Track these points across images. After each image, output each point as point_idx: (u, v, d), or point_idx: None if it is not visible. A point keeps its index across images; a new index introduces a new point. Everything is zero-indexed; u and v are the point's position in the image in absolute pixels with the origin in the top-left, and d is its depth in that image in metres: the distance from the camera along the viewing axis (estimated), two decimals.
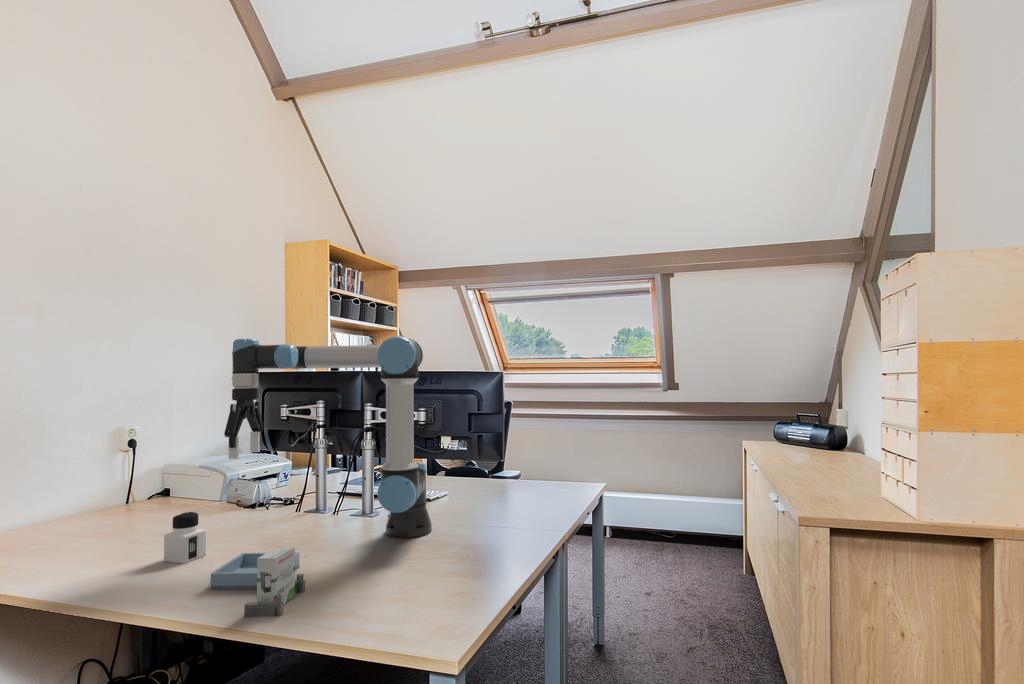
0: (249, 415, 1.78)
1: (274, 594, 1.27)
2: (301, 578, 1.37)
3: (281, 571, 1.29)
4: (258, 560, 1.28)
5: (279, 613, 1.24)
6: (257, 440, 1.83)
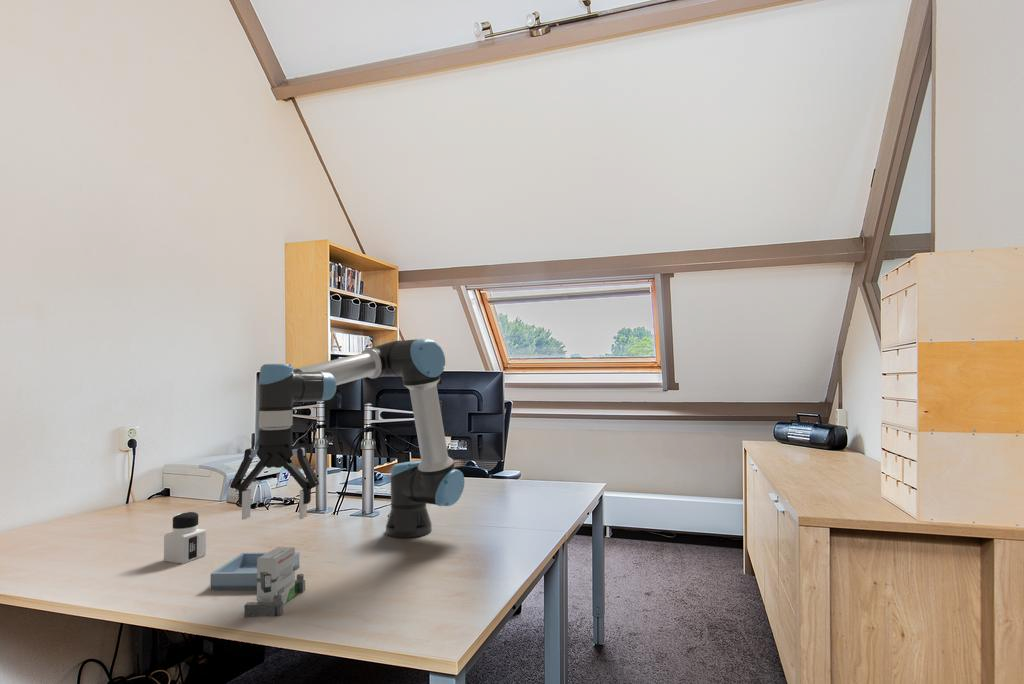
0: (276, 466, 1.33)
1: (274, 594, 1.27)
2: (301, 578, 1.37)
3: (281, 571, 1.29)
4: (258, 560, 1.28)
5: (279, 613, 1.24)
6: None
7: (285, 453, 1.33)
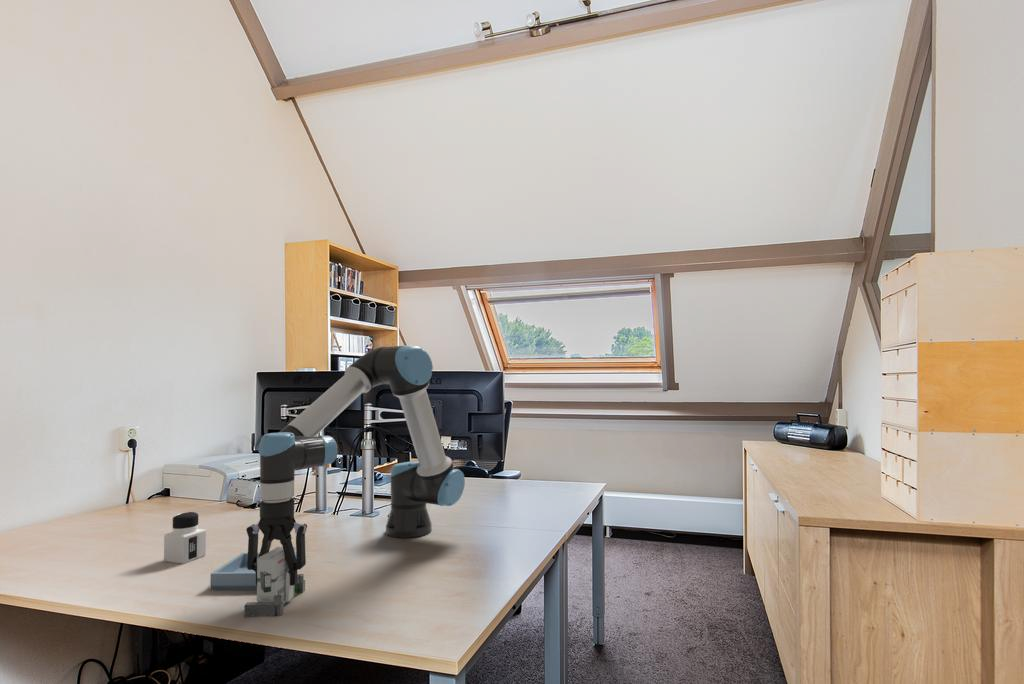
0: (278, 538, 1.31)
1: (274, 594, 1.27)
2: (301, 578, 1.37)
3: (281, 571, 1.29)
4: (258, 560, 1.28)
5: (279, 613, 1.24)
6: None
7: (287, 525, 1.31)
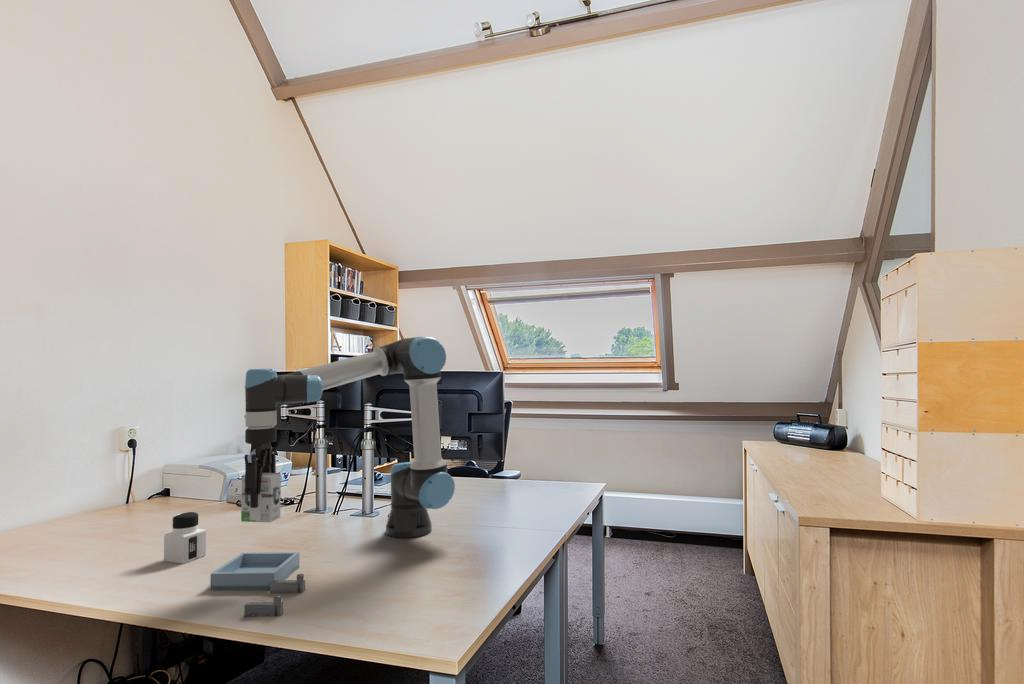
0: (266, 460, 1.48)
1: (280, 503, 1.48)
2: (301, 578, 1.37)
3: None
4: (271, 478, 1.44)
5: (279, 613, 1.24)
6: None
7: (269, 447, 1.50)
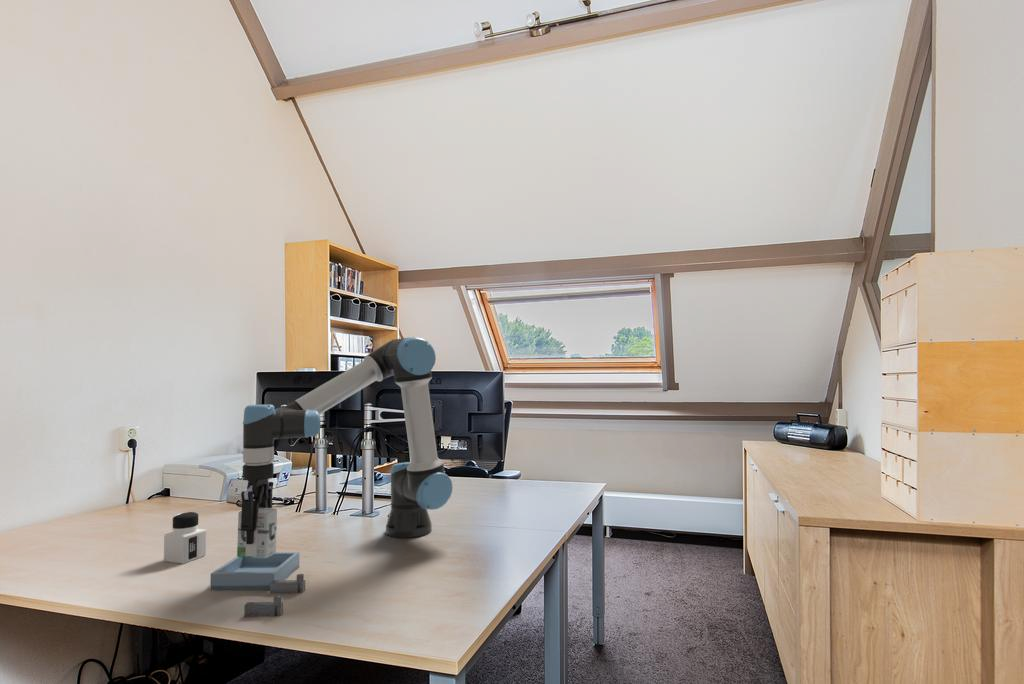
0: (263, 496, 1.49)
1: None
2: (301, 578, 1.37)
3: None
4: (267, 514, 1.45)
5: (279, 613, 1.24)
6: None
7: (266, 483, 1.51)
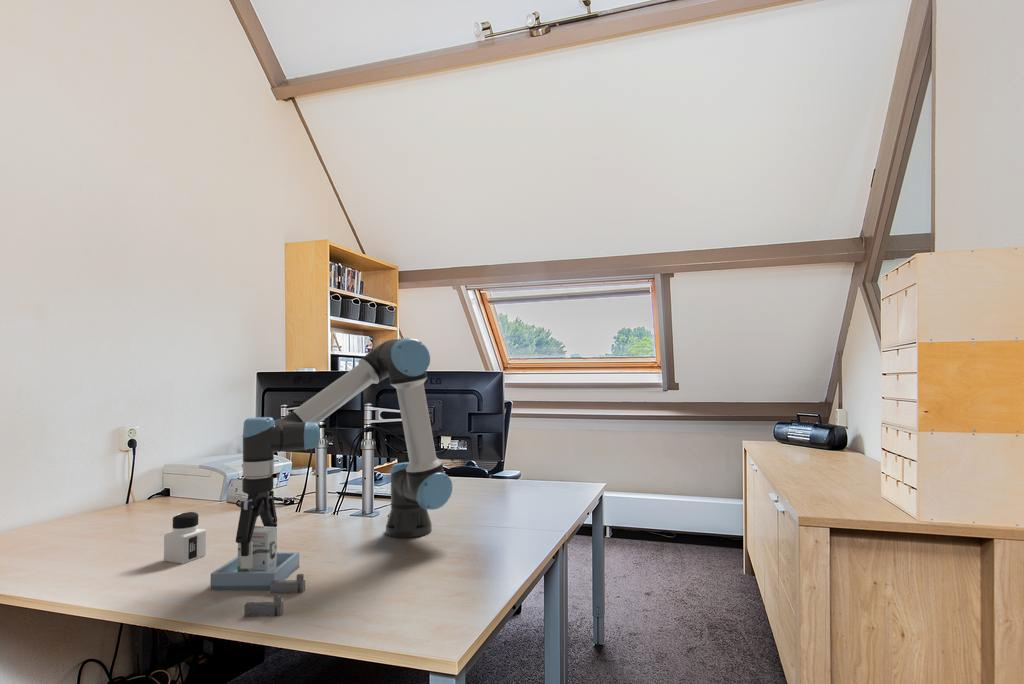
0: (263, 509, 1.49)
1: (276, 557, 1.49)
2: (301, 578, 1.37)
3: None
4: (268, 533, 1.45)
5: (279, 613, 1.24)
6: None
7: (266, 496, 1.51)
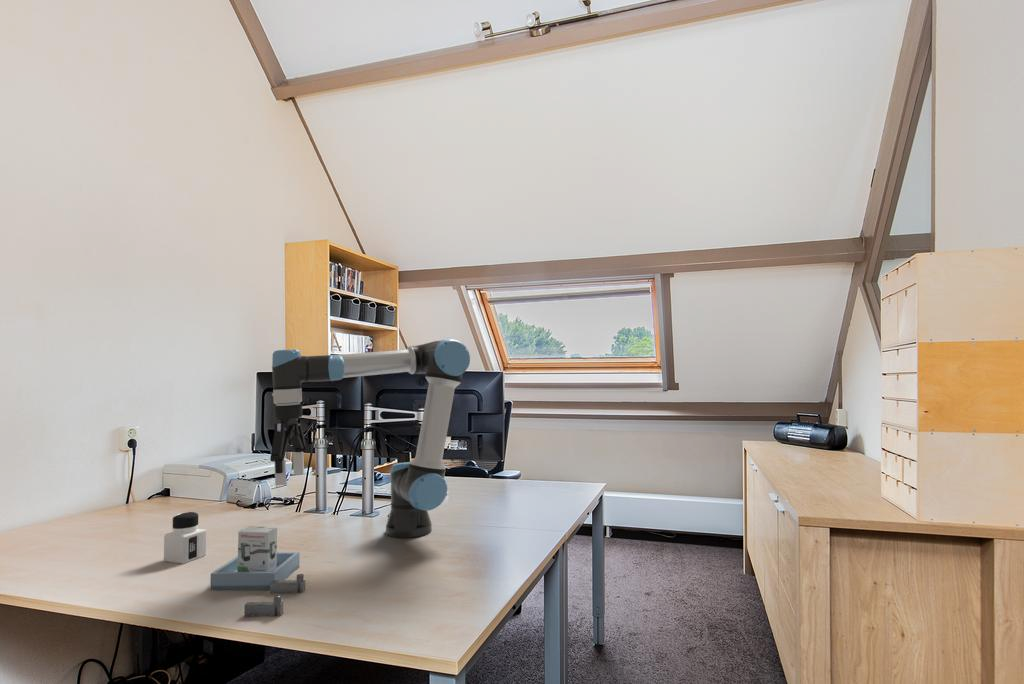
0: (293, 434, 1.59)
1: (276, 557, 1.49)
2: (301, 578, 1.37)
3: None
4: (268, 533, 1.45)
5: (279, 613, 1.24)
6: (301, 461, 1.64)
7: (296, 423, 1.61)
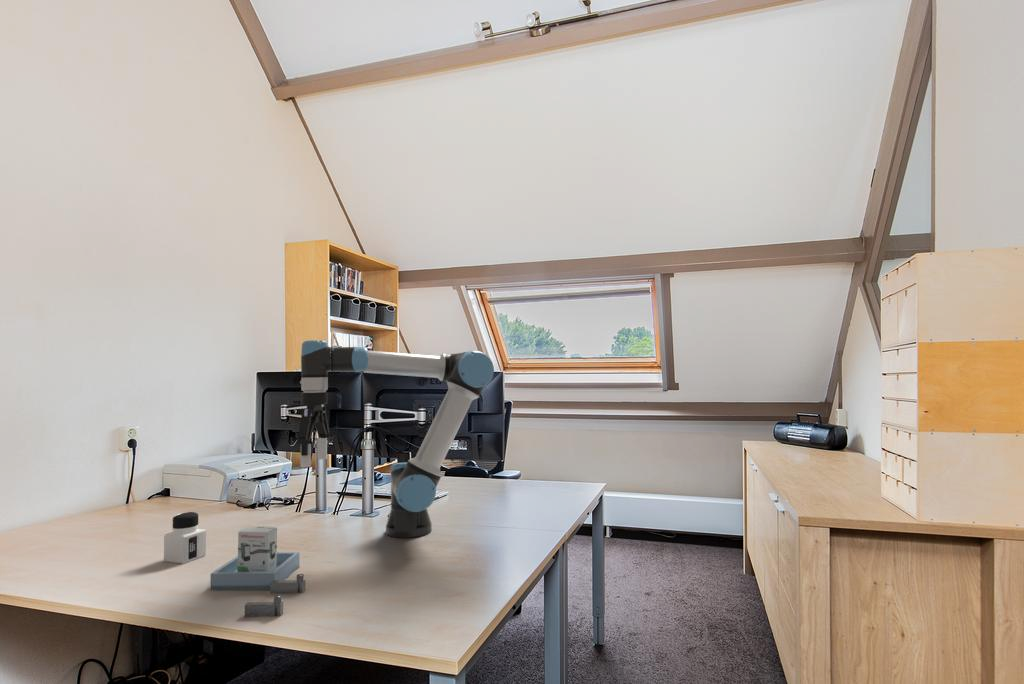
0: (318, 421, 1.69)
1: (276, 557, 1.49)
2: (301, 578, 1.37)
3: None
4: (268, 533, 1.45)
5: (279, 613, 1.24)
6: (325, 447, 1.74)
7: (321, 410, 1.71)
